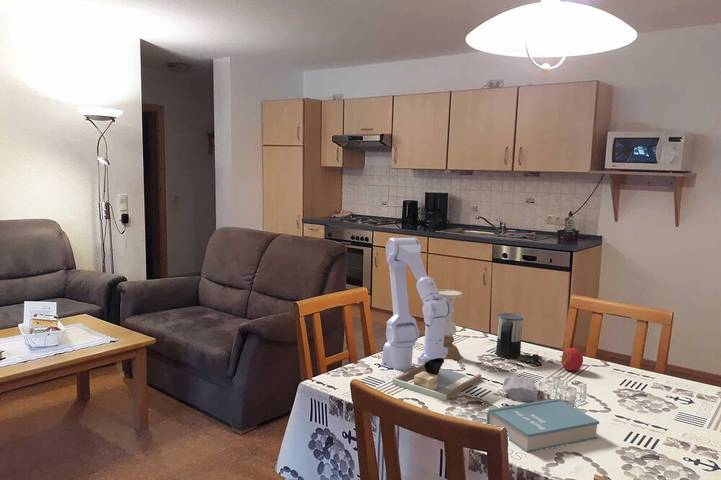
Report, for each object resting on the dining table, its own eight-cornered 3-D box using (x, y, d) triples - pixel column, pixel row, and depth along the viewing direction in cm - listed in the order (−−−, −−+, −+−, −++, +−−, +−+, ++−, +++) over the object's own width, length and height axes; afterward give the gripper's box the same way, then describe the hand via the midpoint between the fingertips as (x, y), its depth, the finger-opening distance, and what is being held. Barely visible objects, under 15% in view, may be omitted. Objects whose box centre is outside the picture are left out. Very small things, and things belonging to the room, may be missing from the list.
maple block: (413, 388, 168) (414, 375, 167) (422, 383, 172) (423, 371, 171) (428, 393, 165) (428, 379, 164) (436, 388, 169) (437, 375, 168)
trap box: (392, 388, 171) (392, 378, 171) (430, 369, 189) (431, 360, 189) (444, 405, 160) (445, 395, 160) (480, 383, 178) (481, 374, 178)
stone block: (505, 405, 167) (540, 402, 165) (502, 389, 167) (537, 386, 165) (502, 391, 179) (535, 389, 177) (500, 376, 178) (533, 374, 176)
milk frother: (494, 349, 213) (497, 311, 211) (537, 353, 211) (540, 315, 209) (497, 362, 199) (500, 321, 197) (543, 366, 197) (547, 325, 195)
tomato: (585, 346, 194) (563, 340, 194) (588, 365, 188) (565, 360, 188) (575, 358, 199) (554, 353, 199) (577, 377, 194) (555, 372, 194)
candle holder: (462, 363, 196) (466, 296, 193) (430, 362, 196) (434, 294, 193) (457, 353, 207) (461, 289, 204) (427, 352, 207) (431, 288, 204)
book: (526, 454, 135) (528, 434, 134) (486, 425, 149) (487, 407, 149) (597, 440, 144) (599, 421, 143) (552, 414, 159) (554, 397, 158)
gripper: (433, 346, 162) (430, 392, 163) (457, 336, 173) (454, 378, 175) (412, 341, 166) (410, 385, 168) (437, 331, 177) (435, 372, 179)
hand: (431, 381), depth 171 cm, fingers closed
